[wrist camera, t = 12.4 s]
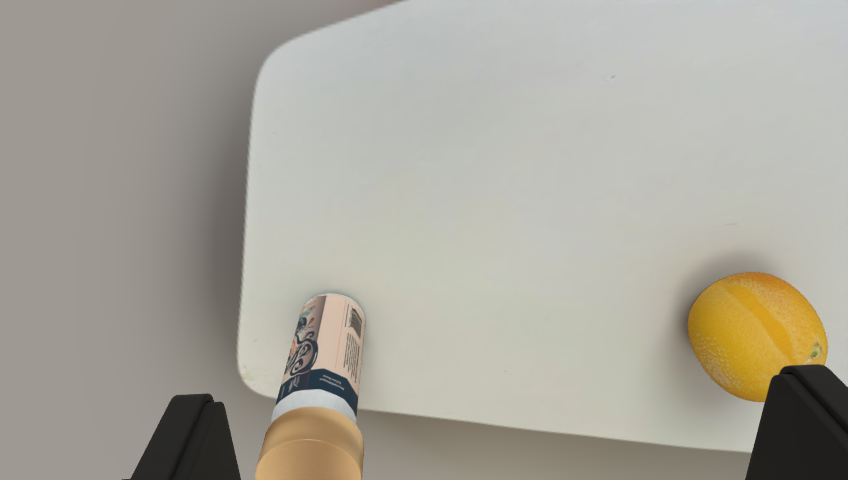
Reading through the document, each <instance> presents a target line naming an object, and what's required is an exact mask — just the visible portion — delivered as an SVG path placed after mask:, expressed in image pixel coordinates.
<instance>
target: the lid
mask: <svg viewBox="0 0 848 480" xmlns="http://www.w3.org/2000/svg"><path fill="white" fill-rule="evenodd" d="M363 456H364V441H363V437H362V434H361V432H360V431H359V429H358V427H357V426H356V425H355V423H354V422H352V421H351V420H350V419H349V418H348V417H346V416H345V415H343V414H341V413H339V412H337V411H335V410H331V409H328V408H323V407H301V408H297V409H293V410H291V411H288V412H286V413H284V414H282V415H281V416H279V417H278V418H277V419H276V420H275V421H274V422H273V423H272V424H271V425H270V427H269V428H268V430H267V432H266V435H265V439H264V442H263V446H262V450H261V453H260V457H259V460H258V464H257V468H256V474H255V478H256V480H362V469H363Z"/></svg>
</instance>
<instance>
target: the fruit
mask: <svg viewBox="0 0 848 480" xmlns="http://www.w3.org/2000/svg"><path fill="white" fill-rule="evenodd" d="M688 334H689V339H690V342H691V345H692V348H693V350H694V352H695V354H696V356H697V358H698V360H699V362H700V363H701V365H702V366H703V368H704V369H705V371H706V372H707V373H708V374H709V376H710V377H711V378H712V379H713V380H714V381H715V382H716V383H717V384H718V385H719V386H721V387H722V388H723V389H724V390H726V391H727V392H729V393H731V394H733V395H735V396H737V397H739V398H742V399H745V400H749V401H754V402H765V400H766V396H767V392H768V388H769V384H770V381H771V379H772V377H773V376H774V375H779V373H780V370H781V369H782V368H783V367H785V366H790V365H811V364H821V365H824V364H825V361H826V358H827V351H828V344H827V337H826V333H825V330H824V327H823V324H822V322H821V320H820V318H819V316H818V315H817V313H816V311H815V310H814V308H813V307H812V305H811V304H810V303H809V302H808V300H807V299H806V298H805V297H804V296H803V295H802V294H801V293H800V292H799V291H798V290H797V289H795V288H794V287H793V286H792V285H790V284H789V283H787V282H786V281H784V280H782V279H780V278H778V277H775V276H772V275H769V274H765V273H756V272H749V273H740V274H735V275H731V276H728V277H726V278H723V279H721V280H718V281H717V282H715V283H714V284H712V285H711V286H709V287H708V288H707V289H705V290H704V291H703V292H702V293H701V294H700V295H699V297H698V298H697V299H696V301H695V302H694V304H693V306H692V308H691V310H690V313H689V317H688Z"/></svg>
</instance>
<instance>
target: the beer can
mask: <svg viewBox="0 0 848 480" xmlns="http://www.w3.org/2000/svg"><path fill="white" fill-rule="evenodd" d="M365 322H366V320H365V315H364V313H363V311H362V309H361V308H360V306H359V305H358V304H357V303H356V302H355V301H354V300H352V299H350V298H349V297H347V296H344V295H340V294H334V293H327V294H322V295H318V296H316V297H314V298H312V299H311V300H309V301H308V302H307V303H306V304H305V305H304V307H303V308H302V309H301V312H300V316H299V321H298V325H297V328H296V332H295V336H294V340H293V343H292V347H291V351H290V354H289V358H288V362H287V365H286V369H285V373H284V376H283V380H282V384H281V387H280V391H279V395H278V398H277V402H276V406H275V408H274V411H273V415H272V423H273V422H274V421H275V420H276V419H277V418H278V417H279V416H281V415H282V414H284V413H286V412H288V411H291V410H293V409H297V408H301V407H323V408H328V409H331V410H335V411H337V412H339V413H341V414H343V415H345V416H346V417H348V418H349V419H350V420H351V421H352V422H354V423H355V425H356V414H357V404H358V393H359V382H360V372H361V361H362V350H363V340H364V329H365Z"/></svg>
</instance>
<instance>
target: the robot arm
mask: <svg viewBox="0 0 848 480" xmlns="http://www.w3.org/2000/svg"><path fill="white" fill-rule="evenodd" d="M122 480H123V479H122ZM124 480H241V478H240V473H239V469H238V464H237V460H236V455H235V451H234V446H233V442H232V438H231V433H230V429H229V424H228V420H227V415H226V411H225V407H224V404H223V403H222V402H214V400H213V397H212V396H211V395H210V394H191V395H176V396H174V397H173V398H172V400H171V401H170V403H169V405H168V407H167V409H166V411H165V413H164V415H163V416H162V418H161V420H160V422H159V424H158V426H157V428H156V430H155V432H154V434H153V436H152V438H151V440H150V442H149V444H148V446H147V448H146V450H145V452H144V454H143V456H142V457H141V459H140V461H139V463H138V465H137V467H136V469H135V471H134V473H133V475H132V477H131V479H124ZM745 480H848V387H847V386H846V385H845V384H844V383H843V382H842V381H841V380H840V379H839V378H838V377H837V376H836V375H835V374H834V373H833V372H832V371H831V370H830V369H828V368H827V367H826V366H824V365H821V364H811V365H790V366H785V367H783V368H782V369H781V370H780V373H779V375H774V376H773V377H772V379H771V381H770V384H769V388H768V392H767V396H766V400H765V404H764V408H763V412H762V416H761V420H760V424H759V428H758V432H757V436H756V439H755V443H754V447H753V451H752V455H751V459H750V463H749V467H748V471H747V475H746V479H745Z"/></svg>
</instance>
